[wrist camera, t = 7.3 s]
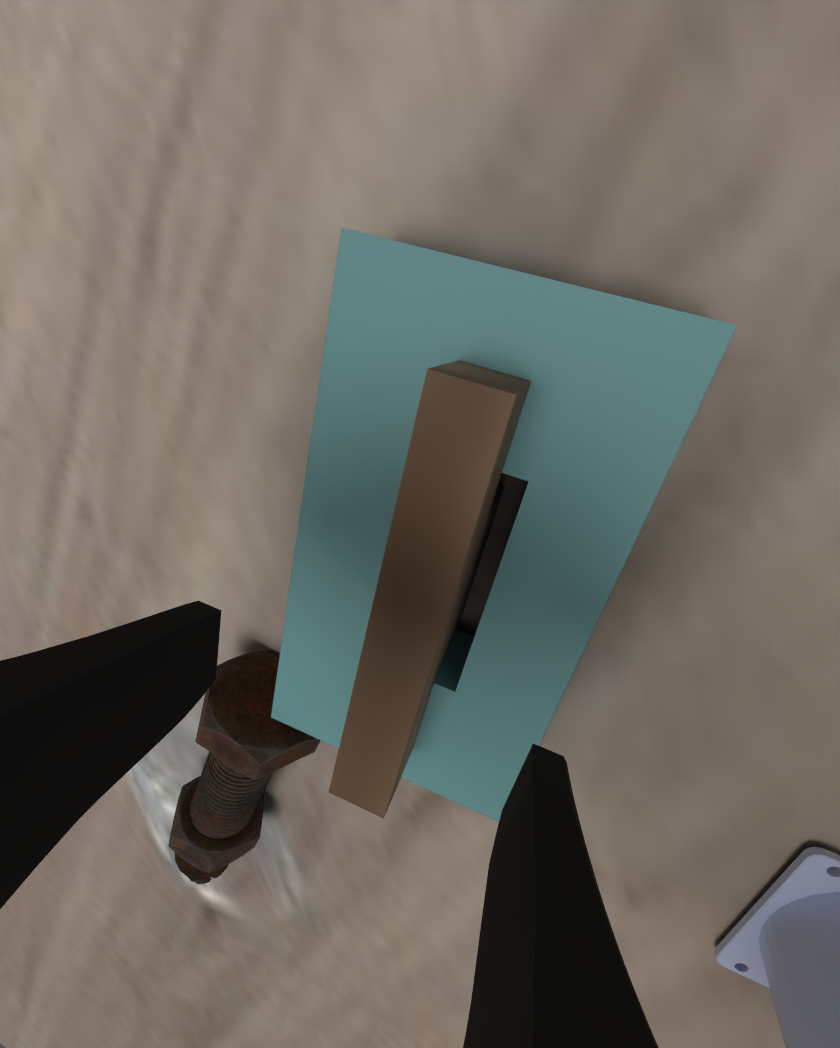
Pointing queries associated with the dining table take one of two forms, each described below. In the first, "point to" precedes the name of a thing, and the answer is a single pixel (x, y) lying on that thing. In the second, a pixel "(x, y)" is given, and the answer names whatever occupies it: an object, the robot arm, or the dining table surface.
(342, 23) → the dining table surface
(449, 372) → the long brown beam
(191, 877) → the bolt
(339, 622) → the post block
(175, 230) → the dining table surface
